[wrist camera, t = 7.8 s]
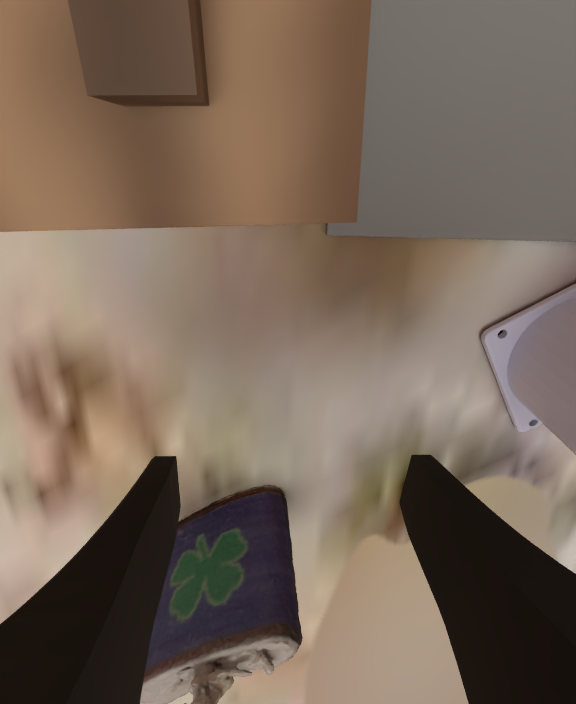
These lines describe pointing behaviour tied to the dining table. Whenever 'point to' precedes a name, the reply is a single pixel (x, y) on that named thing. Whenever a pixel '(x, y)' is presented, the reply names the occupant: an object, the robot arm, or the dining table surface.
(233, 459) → the dining table surface
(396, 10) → the mat
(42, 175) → the lid
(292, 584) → the flask
